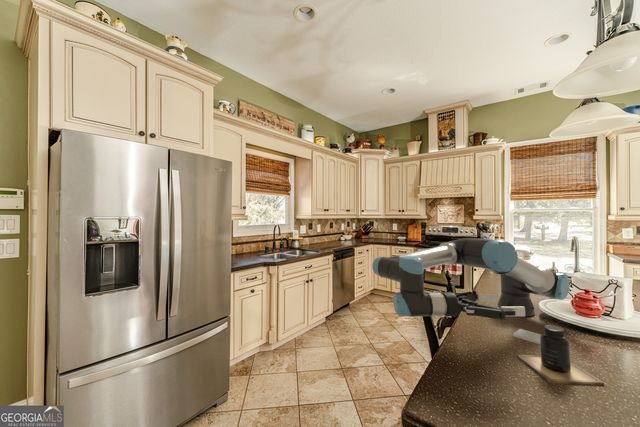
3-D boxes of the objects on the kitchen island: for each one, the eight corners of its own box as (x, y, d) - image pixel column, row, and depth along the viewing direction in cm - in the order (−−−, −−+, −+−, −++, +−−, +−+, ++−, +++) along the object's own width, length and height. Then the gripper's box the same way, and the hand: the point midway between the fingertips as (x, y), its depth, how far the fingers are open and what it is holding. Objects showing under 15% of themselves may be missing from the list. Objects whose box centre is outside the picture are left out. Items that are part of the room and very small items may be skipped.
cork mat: (561, 358, 87) (561, 356, 87) (603, 385, 73) (603, 382, 73) (516, 357, 88) (516, 354, 88) (549, 382, 74) (549, 380, 74)
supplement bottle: (547, 359, 86) (546, 321, 86) (575, 370, 79) (574, 329, 80) (536, 364, 83) (535, 325, 83) (563, 376, 76) (562, 334, 77)
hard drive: (512, 333, 104) (554, 345, 94) (520, 328, 109) (560, 339, 99) (513, 337, 104) (554, 350, 94) (520, 332, 109) (560, 343, 99)
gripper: (429, 303, 100) (488, 302, 99) (459, 332, 75) (538, 332, 74) (429, 283, 100) (487, 282, 99) (459, 305, 75) (537, 305, 74)
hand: (509, 303), depth 86 cm, fingers open, 13 cm apart
